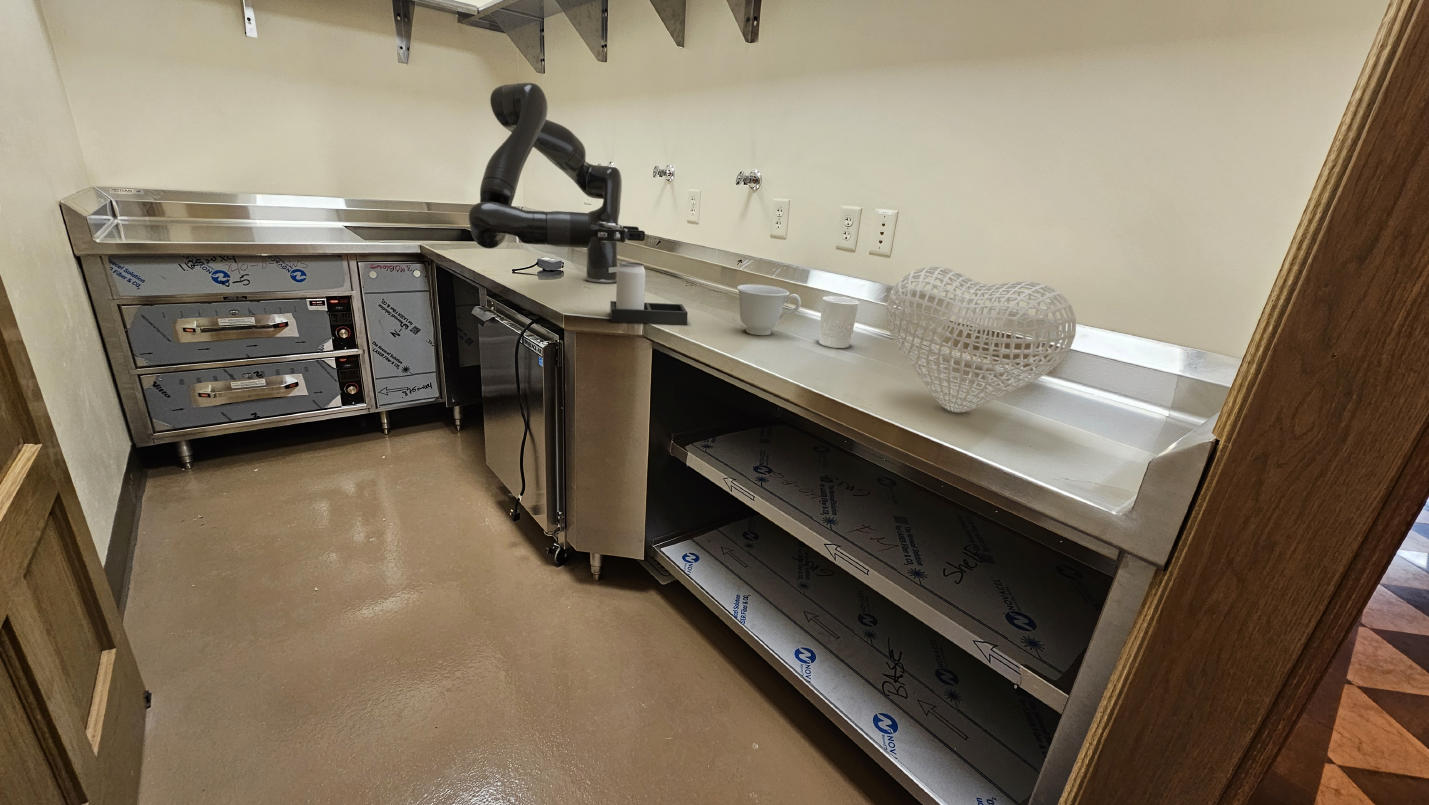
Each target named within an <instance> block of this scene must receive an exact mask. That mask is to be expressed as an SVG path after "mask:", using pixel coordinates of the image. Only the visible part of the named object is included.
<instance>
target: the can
mask: <svg viewBox="0 0 1429 805" xmlns="http://www.w3.org/2000/svg"><path fill="white" fill-rule="evenodd" d="M618 264H619V265H618V266H617V267H618V269H617V282H616V291H615V292H616V293H615V294H616V295H615V301H616V309H637V310H644V303H645V296H646V294H645V292H646V269H645V266H644V265H645V264H644V263H641V262H635V261H620V262H619V263H618Z"/></svg>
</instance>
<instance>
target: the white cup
mask: <svg viewBox="0 0 1429 805" xmlns="http://www.w3.org/2000/svg"><path fill="white" fill-rule="evenodd" d="M859 305H860V301H859V300H857V299H853V298H849V297H843V296H831V295H829V296H823V297H822V301H821V311H820V319H819V338H818V343H819V344H820V345H821V346H824V347H827V348H834V349H846V348H847V349H848V348H849V347H850V345H851V340H852V335H853V332H854V328H855V323H856V319H857V314H858V311H859Z"/></svg>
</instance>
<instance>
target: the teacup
mask: <svg viewBox="0 0 1429 805" xmlns="http://www.w3.org/2000/svg"><path fill="white" fill-rule="evenodd" d="M736 290H737V291H738V298H739V299H738V300H739V318H740V322H741V323H742V324H743V325H744V326H745V327H746V329H745V332H746V333H748V334H750V335H756V336H770V335H771V334H772V332H771V330H772V329H774V328H776V326H778V324H779V323H780V321H781V320H782V319H783V318H784V317H785V316H790V315H793V314H795V313H796V312H798V311H799V310H800V307H801V305H802V301H801V297H800V296H799V295H798V294H797V293H792V294H790V292H789V290H788V289H785V288H783V287H778V286H774V285H773V286H772V285H766V284H751V283H749V284H747V283H746V284H740V285H738V286H736ZM787 296H788V298H787ZM792 299H793V300H795V301H796V305H795V306H794V308H792V309H791V310H787V311H785V312H783V309H784V305H785V303H786V304H789V303H790V301H791V300H792Z"/></svg>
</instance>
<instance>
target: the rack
mask: <svg viewBox="0 0 1429 805" xmlns="http://www.w3.org/2000/svg"><path fill="white" fill-rule="evenodd" d="M609 304H610V305H609V315H610V322H611V323H623V324H624V323H625V324H650V325H651V324H652V325H677V326H678V325H679V326H680V325H681V326H688V314H689V313H688V311H687V309H686V307H685V306H684V305H683V303H665V302H664V303H663V302H644V310H637V309H616V300H610V302H609Z"/></svg>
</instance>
